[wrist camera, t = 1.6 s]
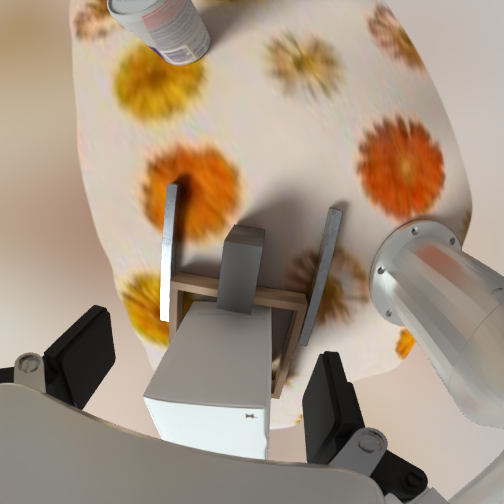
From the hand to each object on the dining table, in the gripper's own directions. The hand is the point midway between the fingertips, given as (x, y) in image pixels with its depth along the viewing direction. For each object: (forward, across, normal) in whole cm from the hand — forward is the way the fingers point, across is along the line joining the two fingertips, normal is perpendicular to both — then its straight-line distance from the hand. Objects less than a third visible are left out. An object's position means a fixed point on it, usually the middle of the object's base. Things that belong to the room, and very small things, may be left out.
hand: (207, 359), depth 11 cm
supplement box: (+18, 0, +11) cm, 21 cm away
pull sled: (+18, 0, +8) cm, 19 cm away
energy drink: (+18, +9, -20) cm, 28 cm away
